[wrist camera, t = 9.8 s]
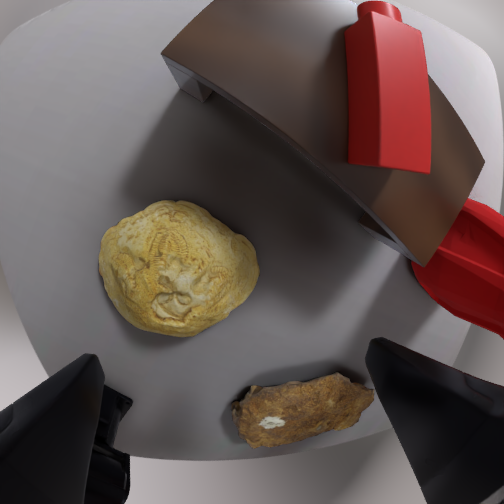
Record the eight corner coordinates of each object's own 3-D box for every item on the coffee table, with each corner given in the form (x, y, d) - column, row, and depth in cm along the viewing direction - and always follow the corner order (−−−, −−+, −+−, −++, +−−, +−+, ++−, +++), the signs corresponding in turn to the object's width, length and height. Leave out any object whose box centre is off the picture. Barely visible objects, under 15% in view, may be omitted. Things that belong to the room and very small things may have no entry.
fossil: (211, 194, 12) (265, 361, 15) (235, 175, 17) (272, 305, 21) (57, 245, 14) (122, 365, 18) (106, 217, 19) (151, 320, 23)
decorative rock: (369, 337, 24) (219, 375, 24) (388, 361, 20) (218, 406, 20) (365, 406, 27) (247, 437, 27) (377, 429, 24) (249, 463, 23)
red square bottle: (394, 169, 12) (430, 175, 9) (347, 163, 12) (379, 166, 9) (387, 28, 9) (417, 11, 7) (341, 14, 9) (366, -10, 6)
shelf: (373, 237, 20) (424, 268, 14) (179, 88, 15) (159, 53, 9) (428, 155, 18) (485, 161, 12) (260, 5, 13) (277, -46, 7)
